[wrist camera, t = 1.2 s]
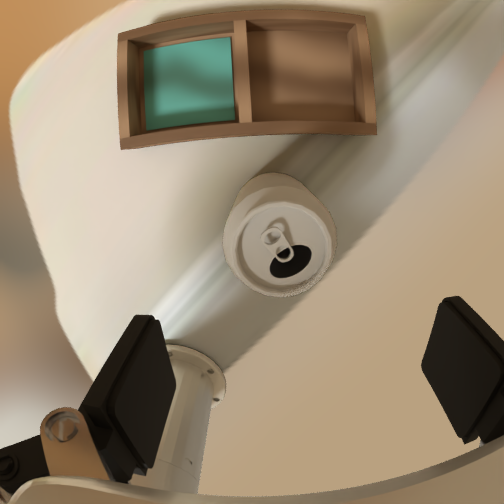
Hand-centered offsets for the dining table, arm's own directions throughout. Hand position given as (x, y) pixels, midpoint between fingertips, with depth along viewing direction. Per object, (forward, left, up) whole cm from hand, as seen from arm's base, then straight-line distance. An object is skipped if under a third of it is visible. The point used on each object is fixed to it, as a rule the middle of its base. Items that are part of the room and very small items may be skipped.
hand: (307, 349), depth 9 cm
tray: (+13, +2, -21) cm, 25 cm away
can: (0, 0, -21) cm, 21 cm away
